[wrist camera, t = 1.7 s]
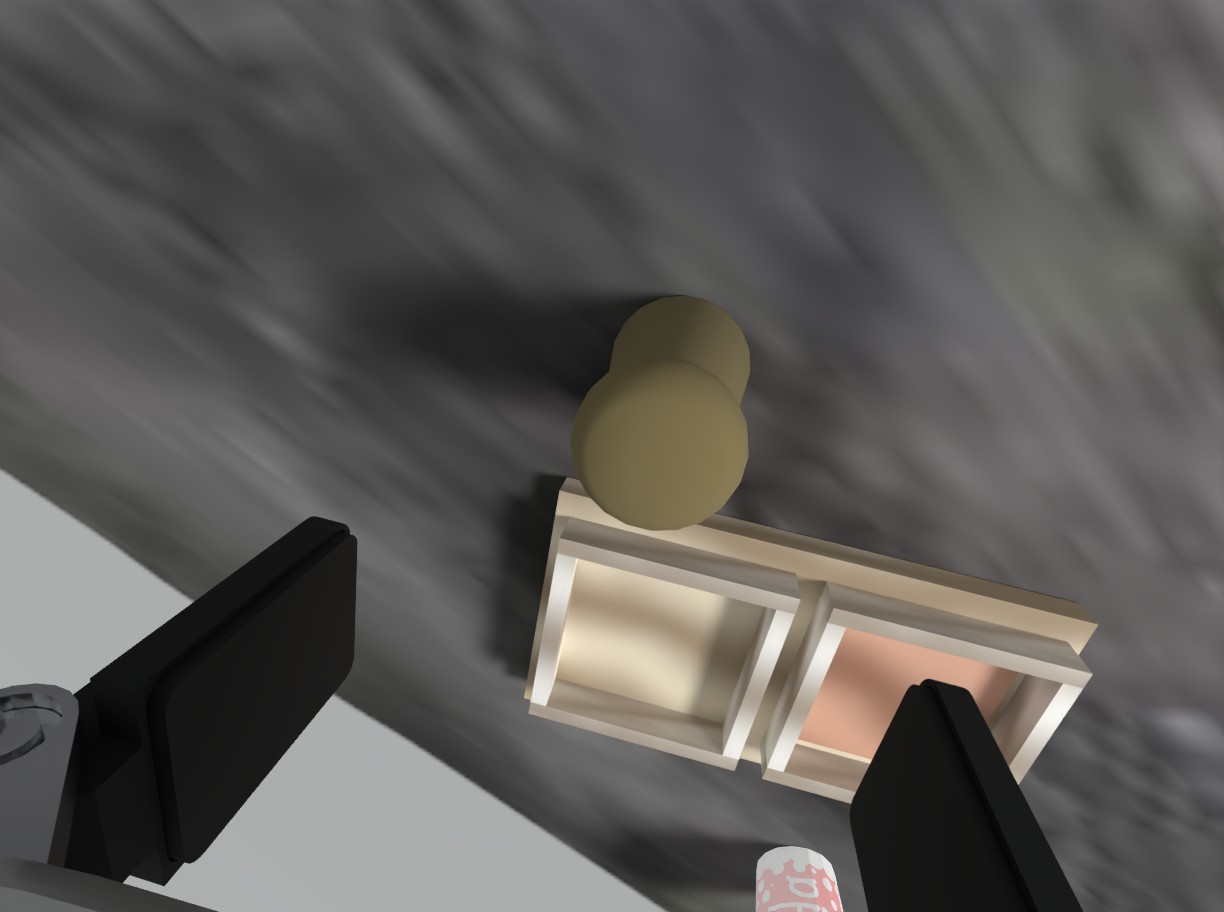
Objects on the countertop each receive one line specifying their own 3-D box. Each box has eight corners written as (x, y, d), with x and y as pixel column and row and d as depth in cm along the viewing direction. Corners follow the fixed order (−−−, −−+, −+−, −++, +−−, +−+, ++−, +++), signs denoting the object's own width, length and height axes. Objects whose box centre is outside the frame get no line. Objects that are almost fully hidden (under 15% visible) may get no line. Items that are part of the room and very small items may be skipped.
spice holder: (567, 476, 30) (548, 510, 26) (1080, 603, 28) (1126, 656, 24) (531, 678, 35) (512, 726, 32) (959, 796, 33) (985, 859, 30)
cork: (742, 437, 27) (753, 575, 17) (608, 426, 28) (545, 552, 18) (758, 298, 25) (782, 366, 15) (612, 291, 26) (542, 350, 16)
